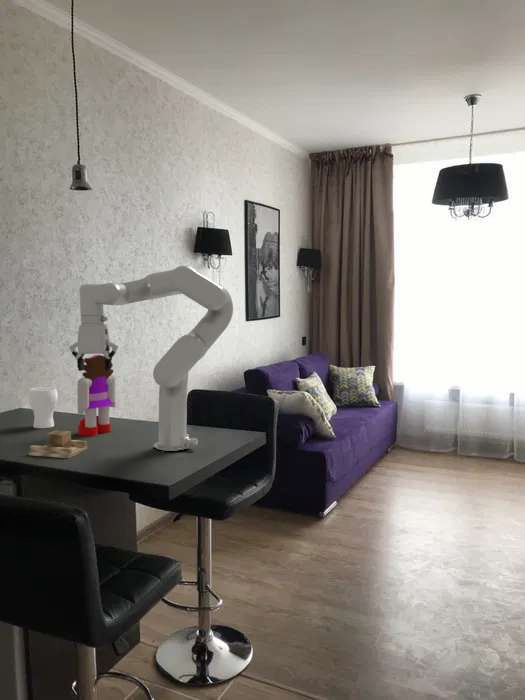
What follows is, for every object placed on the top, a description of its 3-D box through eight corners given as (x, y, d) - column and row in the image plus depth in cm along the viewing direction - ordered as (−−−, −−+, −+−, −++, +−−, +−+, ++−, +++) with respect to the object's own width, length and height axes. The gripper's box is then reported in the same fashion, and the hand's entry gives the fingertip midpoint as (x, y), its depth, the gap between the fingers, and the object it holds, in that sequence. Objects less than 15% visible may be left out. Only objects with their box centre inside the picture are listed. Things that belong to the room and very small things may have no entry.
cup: (28, 424, 227) (28, 387, 226) (56, 422, 231) (56, 386, 230) (30, 430, 217) (29, 391, 216) (59, 428, 222) (58, 390, 221)
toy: (104, 426, 226) (104, 351, 224) (120, 429, 222) (120, 353, 219) (68, 435, 211) (67, 355, 208) (84, 438, 206) (84, 356, 204)
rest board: (87, 448, 192) (87, 440, 192) (68, 458, 180) (68, 449, 180) (49, 446, 194) (49, 438, 194) (29, 455, 183) (28, 446, 182)
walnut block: (71, 447, 189) (71, 431, 189) (62, 451, 184) (62, 434, 184) (56, 446, 190) (55, 430, 190) (46, 450, 185) (46, 433, 185)
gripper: (120, 319, 196) (122, 369, 197) (73, 320, 198) (76, 369, 200) (111, 320, 188) (114, 371, 190) (63, 321, 191) (65, 371, 192)
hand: (94, 370), depth 195 cm, fingers open, 9 cm apart
